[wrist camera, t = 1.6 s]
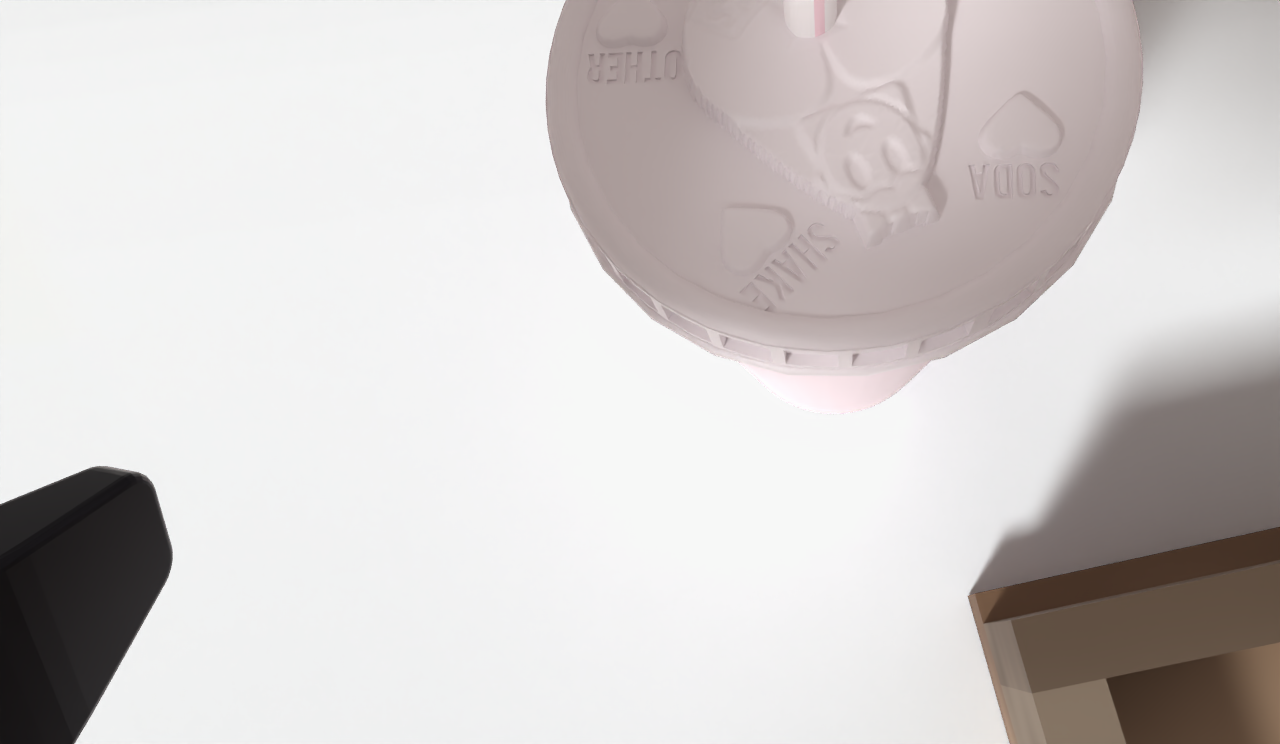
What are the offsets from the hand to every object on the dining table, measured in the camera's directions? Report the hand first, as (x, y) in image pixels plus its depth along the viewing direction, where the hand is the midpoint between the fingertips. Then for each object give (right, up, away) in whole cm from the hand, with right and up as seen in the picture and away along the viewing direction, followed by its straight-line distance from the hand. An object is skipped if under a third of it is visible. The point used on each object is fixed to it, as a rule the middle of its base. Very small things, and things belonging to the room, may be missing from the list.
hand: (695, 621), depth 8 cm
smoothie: (+3, +3, +13) cm, 14 cm away
